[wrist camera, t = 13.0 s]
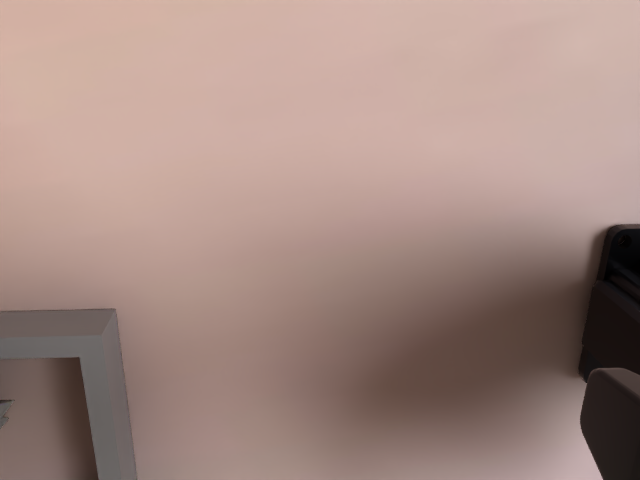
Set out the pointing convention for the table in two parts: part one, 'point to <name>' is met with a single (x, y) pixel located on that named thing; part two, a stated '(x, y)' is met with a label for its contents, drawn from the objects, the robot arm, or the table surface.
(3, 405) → the yellow cone shape
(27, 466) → the table surface
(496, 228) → the table surface
